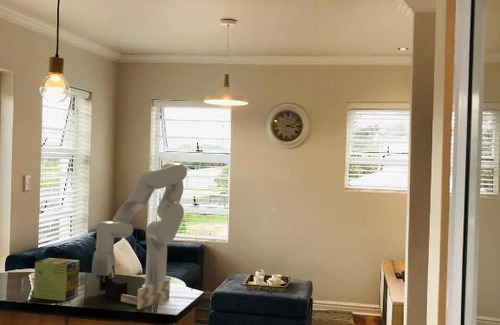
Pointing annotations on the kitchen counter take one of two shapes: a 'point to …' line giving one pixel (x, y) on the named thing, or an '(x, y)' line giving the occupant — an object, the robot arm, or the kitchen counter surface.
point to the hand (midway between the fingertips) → (103, 289)
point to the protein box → (56, 279)
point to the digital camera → (115, 288)
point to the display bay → (149, 294)
